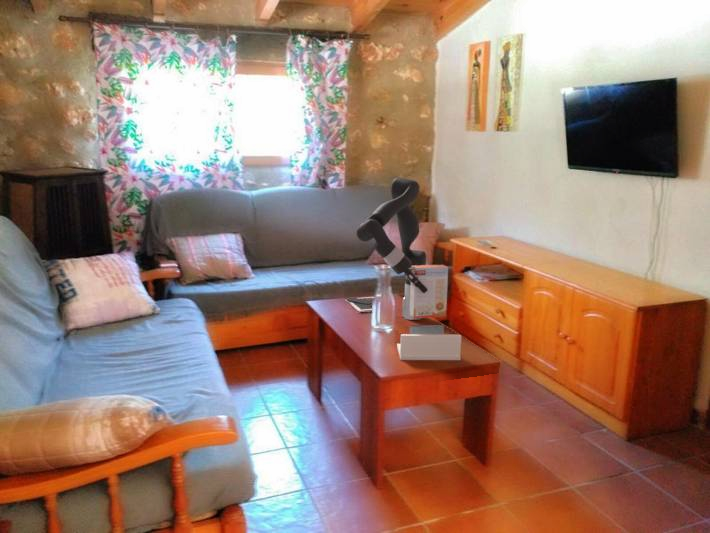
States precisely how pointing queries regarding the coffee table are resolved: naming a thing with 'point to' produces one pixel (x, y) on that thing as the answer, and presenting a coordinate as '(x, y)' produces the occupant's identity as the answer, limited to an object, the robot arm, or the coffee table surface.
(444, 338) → the book rack
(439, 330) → the bookend
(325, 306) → the coffee table surface
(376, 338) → the coffee table surface
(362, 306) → the picture frame
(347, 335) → the coffee table surface
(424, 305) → the cracker box
